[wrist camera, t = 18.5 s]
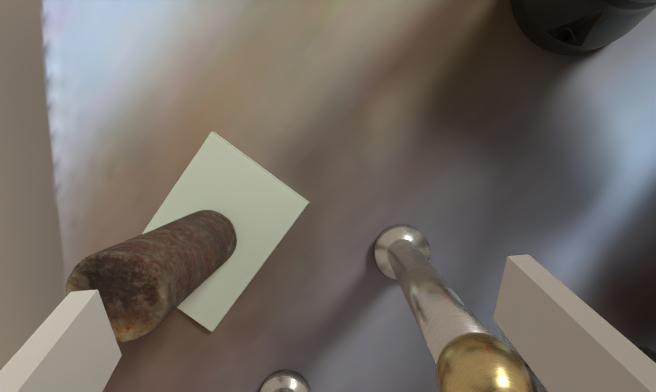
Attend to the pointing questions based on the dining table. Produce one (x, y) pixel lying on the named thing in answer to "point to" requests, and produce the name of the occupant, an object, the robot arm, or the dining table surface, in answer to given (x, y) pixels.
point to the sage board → (241, 209)
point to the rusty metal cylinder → (155, 270)
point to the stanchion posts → (436, 325)
